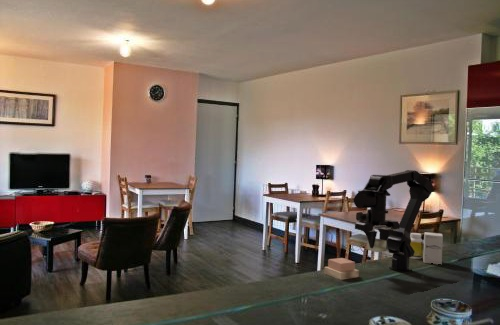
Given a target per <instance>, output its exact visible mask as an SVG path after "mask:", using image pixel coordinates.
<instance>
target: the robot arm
mask: <svg viewBox="0 0 500 325" xmlns="http://www.w3.org/2000/svg"><path fill="white" fill-rule="evenodd" d="M402 183H406V184H407V186H408V187H409V190H408V191H409V200H408V203H407V205H406V208H405V210H404V213H403V214H402V216H401V219H400V221H397V220H392V219H386V214H389V210H387V197H390V196H391V194H390V192H389V191H388V190H389V189H391V188H393V186H394V185H399V184H402ZM433 191H434V184H433V183H432V182H431V181H430V180H429V179H428V178H427V177H424V175H422V174H420V173H419V171H417V170H413V169H412V170H411V169H407V170H405V171H400V172H395V173H391V174H387V175H386V174H372V175H370V177H369V179H368V181H367V182H366V184H365V186H364V188H363V189H358V190H357V193H356V194H355V195H354V198H353V203H354V206H355V207H356V208H357V209H367V212H366V213H363V211H359V212H356V214H355V219H356V222H355V223H354V230H358V231H361V232H363V233H364V234H365V236H366V239H368V242H369V245H370V248H373V247H374V243H375V239H376V238H377V235H378V232H379V239H381V240H385V241H386V247H387V249H388V253H389V254H392V258H391V266H389V267H388V269H389V270H392V271H396V272H400V273H405V272H410V271H413V269H412V268H410V258H409V257H412V256H414V252H415V251H414V250H413V248H412V247H411V245H410V243H411V236H410V234H411V233H412V232H411V231H412V228H413V227H414V224H415V221H416V219H417V216H418V214H419V212H420V210H421V207H422V205H423V203H424V202H425V201H426V200H428V199H429V197H430V196H431V195H432V193H433ZM368 208H369V209H368ZM375 229H377V230H378V231H377V230H375Z"/></svg>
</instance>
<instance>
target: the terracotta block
mask: <svg viewBox="0 0 500 325" xmlns="http://www.w3.org/2000/svg"><path fill="white" fill-rule="evenodd" d="M327 267H329V268H331V269H334V270H337V271H339V272H343V271H351V270H355V269H356V262H355V261H352V260H350V259H347V258H344V257H338V258H329V259H328V261H327Z"/></svg>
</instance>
